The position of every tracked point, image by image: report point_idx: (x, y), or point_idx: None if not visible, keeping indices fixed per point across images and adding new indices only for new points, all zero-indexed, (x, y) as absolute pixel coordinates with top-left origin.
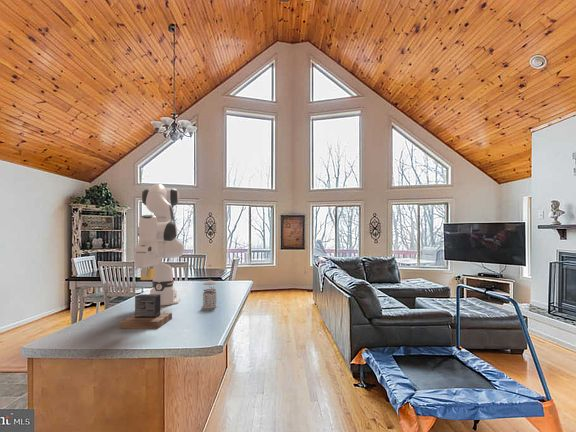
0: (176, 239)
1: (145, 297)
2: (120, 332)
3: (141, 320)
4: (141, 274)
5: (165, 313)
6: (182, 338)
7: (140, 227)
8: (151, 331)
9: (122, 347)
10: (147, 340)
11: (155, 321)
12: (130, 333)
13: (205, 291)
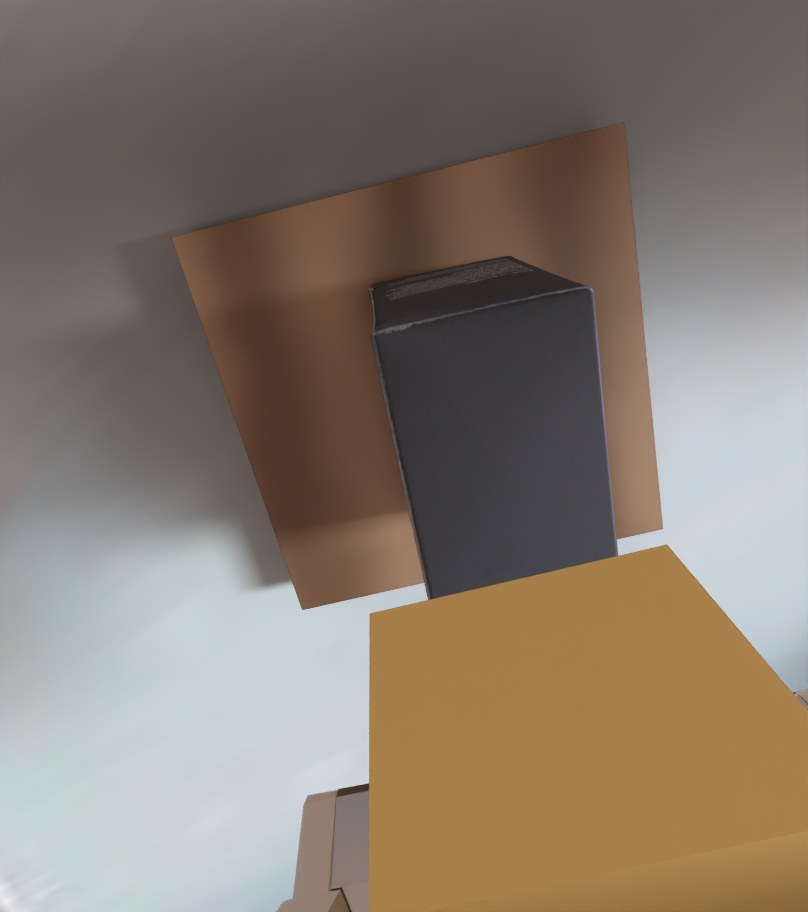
0: None
1: (408, 502)
2: (80, 347)
3: (291, 436)
4: (380, 758)
5: (617, 488)
6: (147, 839)
7: None
8: (209, 579)
9: None
10: (12, 683)
11: (298, 583)
12: (94, 456)
13: None
